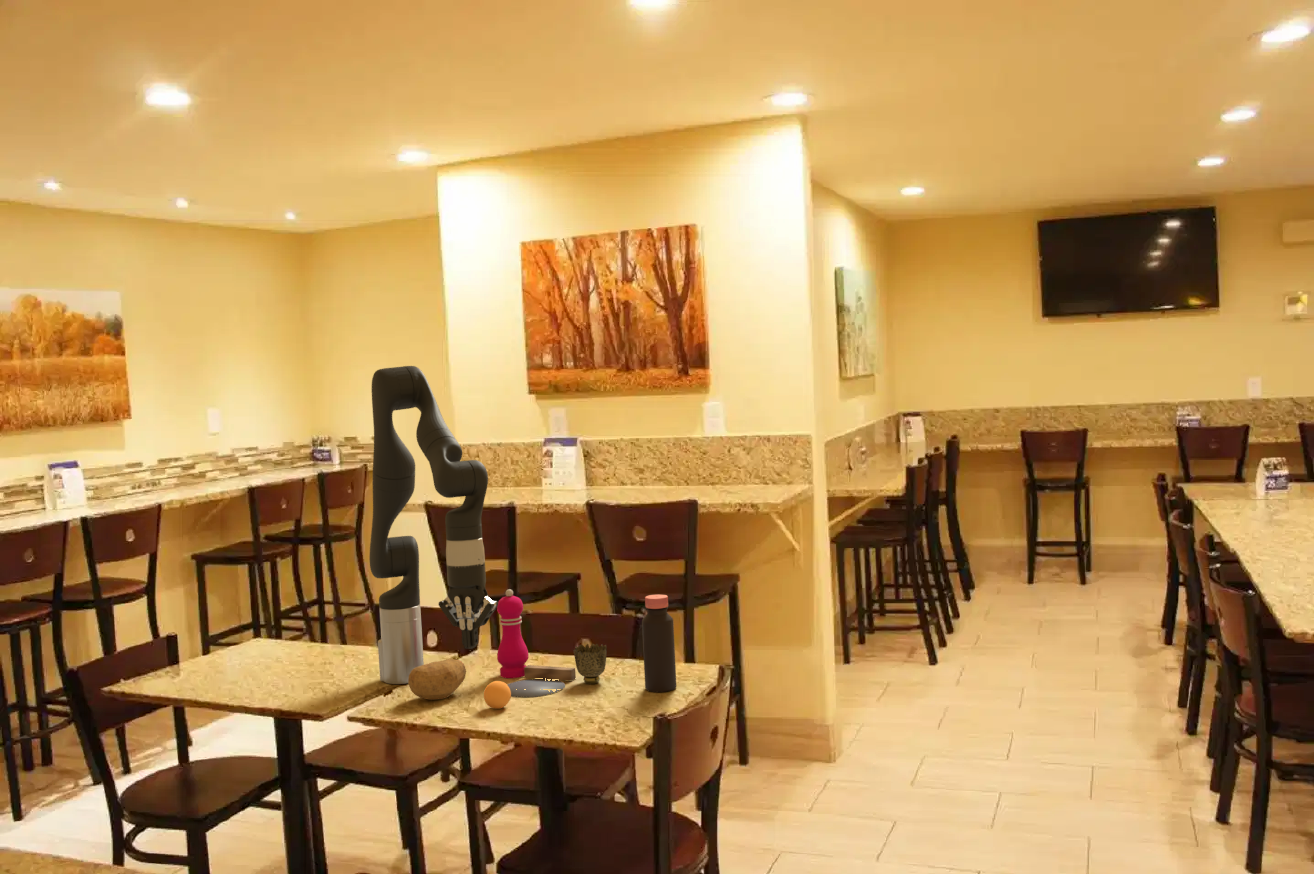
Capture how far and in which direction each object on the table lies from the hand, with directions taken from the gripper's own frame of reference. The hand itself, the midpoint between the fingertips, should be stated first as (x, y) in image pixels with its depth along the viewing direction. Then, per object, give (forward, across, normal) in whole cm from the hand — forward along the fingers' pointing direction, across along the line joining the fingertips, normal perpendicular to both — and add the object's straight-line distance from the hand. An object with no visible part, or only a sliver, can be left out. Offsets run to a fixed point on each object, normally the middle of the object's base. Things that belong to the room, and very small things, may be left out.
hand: (470, 647), depth 215 cm
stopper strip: (+15, 0, +32) cm, 35 cm away
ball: (+12, 0, +9) cm, 15 cm away
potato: (+15, -17, +13) cm, 26 cm away
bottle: (+15, +28, +30) cm, 44 cm away
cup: (+15, +11, +31) cm, 36 cm away
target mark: (+15, 0, +24) cm, 28 cm away
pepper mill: (+15, -10, +33) cm, 38 cm away
